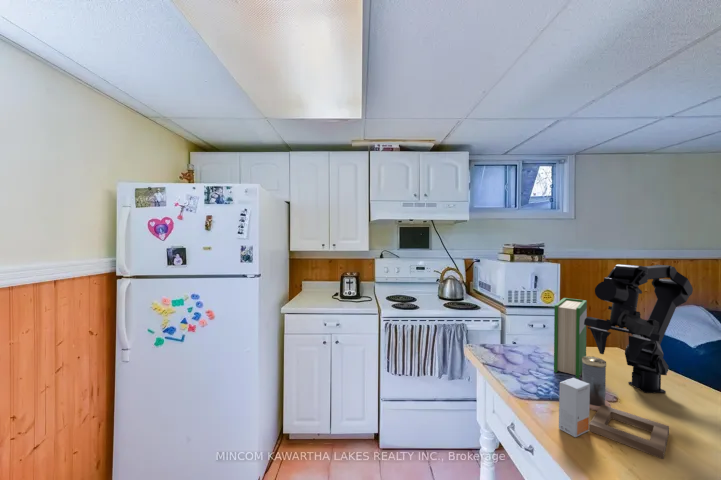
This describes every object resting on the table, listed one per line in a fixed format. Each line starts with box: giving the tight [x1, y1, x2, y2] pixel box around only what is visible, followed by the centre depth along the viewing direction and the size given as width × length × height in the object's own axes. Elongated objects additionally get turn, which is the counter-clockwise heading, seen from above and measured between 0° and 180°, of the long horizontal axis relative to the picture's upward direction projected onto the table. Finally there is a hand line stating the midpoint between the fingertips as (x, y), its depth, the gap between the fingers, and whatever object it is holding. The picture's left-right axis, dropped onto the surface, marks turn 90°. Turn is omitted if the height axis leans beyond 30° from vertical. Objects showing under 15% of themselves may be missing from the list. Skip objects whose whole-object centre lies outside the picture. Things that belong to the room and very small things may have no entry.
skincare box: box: [558, 377, 590, 438], centre depth 79 cm, size 6×4×12 cm
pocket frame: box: [588, 405, 670, 460], centre depth 78 cm, size 13×13×2 cm
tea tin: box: [581, 355, 607, 406], centre depth 91 cm, size 6×6×12 cm
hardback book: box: [553, 297, 588, 379], centre depth 116 cm, size 18×7×24 cm, turn 138°
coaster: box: [589, 399, 612, 412], centre depth 91 cm, size 8×8×1 cm
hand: (616, 357), depth 94 cm, fingers open, 9 cm apart
